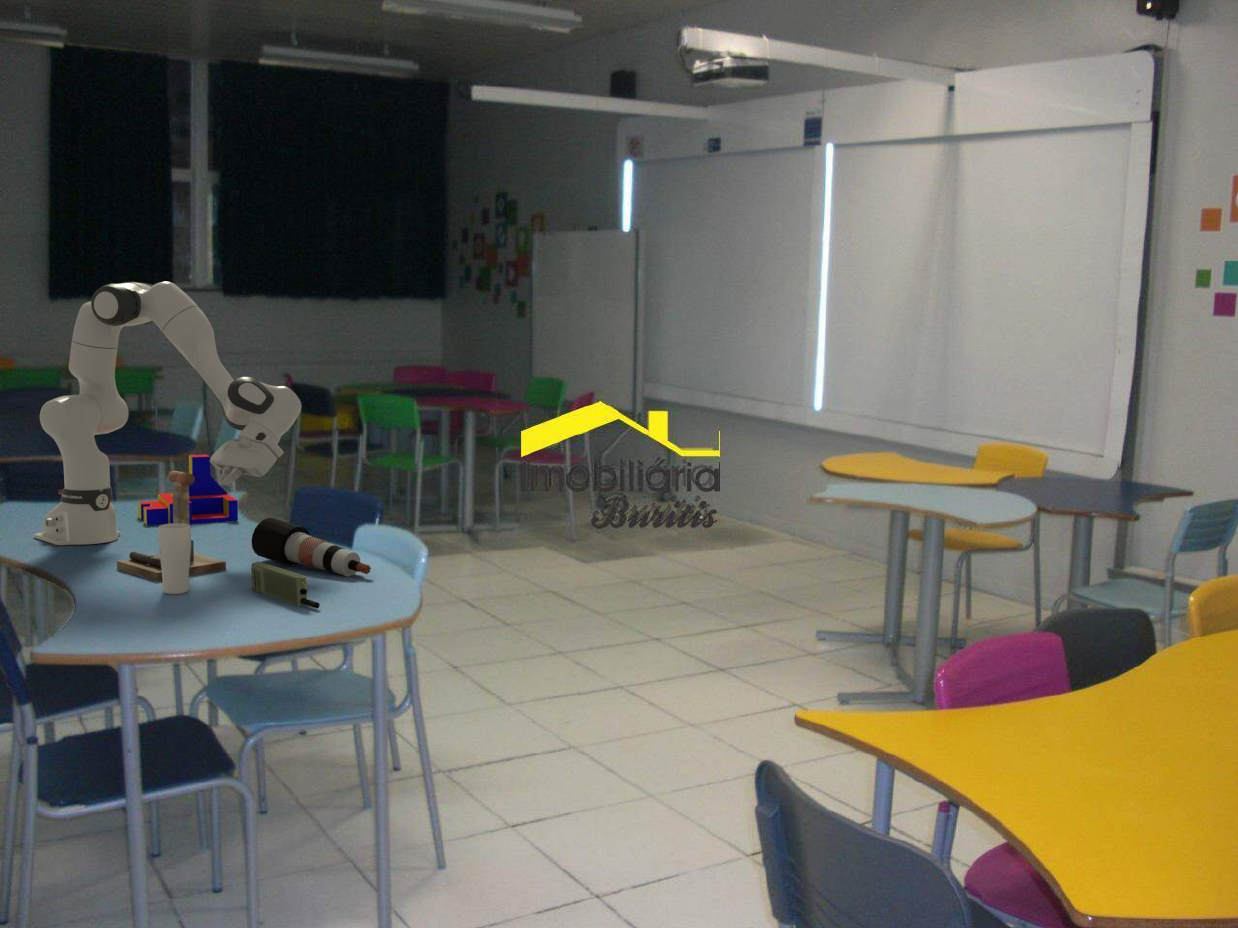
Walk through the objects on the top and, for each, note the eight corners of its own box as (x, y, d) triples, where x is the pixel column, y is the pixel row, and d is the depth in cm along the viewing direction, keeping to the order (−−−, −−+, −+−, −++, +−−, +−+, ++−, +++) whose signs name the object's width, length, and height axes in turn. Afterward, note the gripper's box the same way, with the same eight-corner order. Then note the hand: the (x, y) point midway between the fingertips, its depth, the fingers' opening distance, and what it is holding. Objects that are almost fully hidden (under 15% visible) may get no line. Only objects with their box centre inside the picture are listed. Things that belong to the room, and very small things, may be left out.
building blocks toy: (137, 516, 358) (135, 456, 356) (223, 511, 371) (222, 453, 369) (148, 527, 342) (146, 464, 340) (237, 522, 355) (237, 460, 352)
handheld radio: (263, 589, 274) (324, 609, 257) (250, 591, 272) (311, 613, 255) (261, 560, 273) (323, 579, 256) (248, 563, 271) (310, 582, 254)
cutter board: (185, 558, 303) (184, 530, 302) (226, 569, 291) (225, 541, 290) (117, 568, 289) (116, 540, 288) (156, 581, 277) (156, 551, 277)
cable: (359, 599, 285) (348, 565, 279) (258, 564, 302) (246, 532, 296) (386, 573, 292) (376, 540, 286) (287, 541, 309) (275, 509, 303)
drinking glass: (153, 594, 265) (152, 527, 263) (169, 587, 272) (167, 522, 270) (182, 596, 264) (181, 529, 262) (197, 589, 271) (196, 524, 269)
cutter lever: (180, 552, 295) (178, 470, 293) (196, 556, 291) (194, 473, 288) (168, 554, 293) (166, 471, 290) (183, 558, 288) (182, 474, 286)
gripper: (225, 430, 309) (191, 471, 303) (272, 437, 296) (238, 480, 290) (240, 446, 313) (207, 487, 307) (287, 453, 300) (254, 496, 294)
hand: (222, 483), depth 298 cm, fingers closed
